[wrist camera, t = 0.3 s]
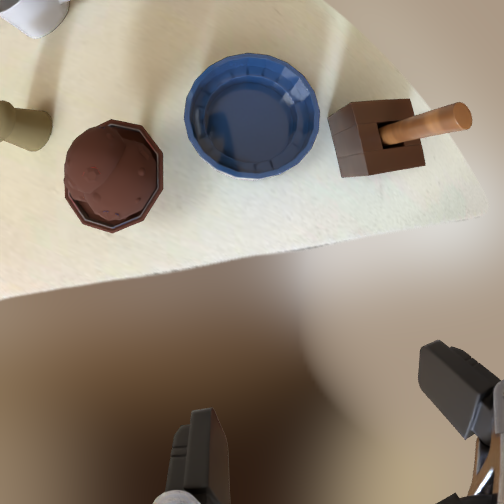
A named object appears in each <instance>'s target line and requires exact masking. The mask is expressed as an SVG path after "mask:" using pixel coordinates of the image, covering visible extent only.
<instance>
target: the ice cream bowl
mask: <svg viewBox="0 0 504 504" xmlns="http://www.w3.org/2000/svg"><path fill="white" fill-rule="evenodd" d="M64 172H65V178H64V184H65V198H66V200H67V201H68V203H69V204H70V206H71V207H72V209H73V210H74V212H75V213H76V215H77V216H78V218H79V219H80V221H81V222H82V223H83V224H84V225H87V226H91V227H94V228H97V229H100V230H103V231H107V232H110V233H114V232H117V231H119V230H122V229H124V228H127V227H129V226H131V225H134V224H136V223H139V222H141V221H143V220H144V219H145V217H146V215H147V214H148V212H149V211H150V209H151V207H152V206H153V204H154V203H155V201H156V200H157V198H158V196H159V195H160V193H161V192H162V190H163V153H162V151H161V150H160V149H159V147H158V146H157V145H156V143H155V142H154V141H153V139H152V138H151V137H150V135H149V134H148V133H147V131H146V130H145V129H144V127H143V126H141V125H137V124H132V123H127V122H122V121H117V120H112V119H111V120H109V121H106V122H104V123H102V124H100V125H98V126H96V127H93V128H89V129H88V130H86V131H85V132H84V133H82V134H81V135H79V136H78V137H77V138H76V139H75V140H74V141H73V143H72V145H71V146H70V148H69V150H68V152H67V156H66V162H65V167H64Z"/></svg>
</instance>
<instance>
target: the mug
mask: <svg viewBox="0 0 504 504" xmlns="http://www.w3.org/2000/svg"><path fill="white" fill-rule="evenodd" d="M68 1H70V0H0V17H2V18H3V19H5V20H6V21H7V22H9V23H10V24H12V25H13V26H15V27H16V28H18V29H19V30H20V31H22V32H23V33H24V34H26V35H27V36H29V37H30V38H41V37H43V36H45V35H47V34H49V33H50V32H52V31H53V30H54V29H55V28H56V27H57V26H58V25H59V24H60V23H61V22H62V21H63V19H64V18H65V16H66V14H67V12H68V8H69V3H68Z"/></svg>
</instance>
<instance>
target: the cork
mask: <svg viewBox="0 0 504 504" xmlns="http://www.w3.org/2000/svg"><path fill="white" fill-rule="evenodd" d="M51 131H52V120H51V117H50V115H49V114H48V113H47V112H44V111H39V110H30V109H20V108H14V107H13V106H12V105H11V104H10V103H9V102H6V101H0V142H1V141H3V140H4V141H6V142H9V143H11V144H14V145H16V146H19V147H21V148H24V149H26V150H29V151H37V150H39V149H41V148H42V147H43V146H44V145H45V144H46V143H47V141H48V140H49V137H50V135H51Z"/></svg>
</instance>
